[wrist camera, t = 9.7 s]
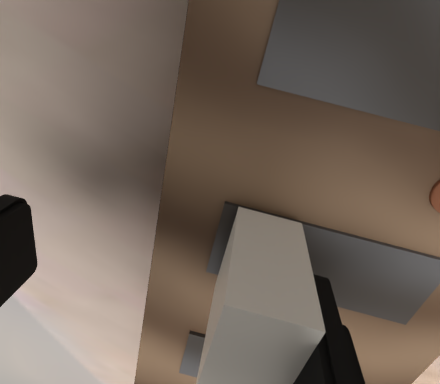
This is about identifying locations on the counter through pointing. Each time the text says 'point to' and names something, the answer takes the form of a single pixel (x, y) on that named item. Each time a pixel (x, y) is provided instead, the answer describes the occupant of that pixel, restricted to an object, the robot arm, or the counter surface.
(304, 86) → the switch board
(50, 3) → the counter surface
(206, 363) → the knob middle
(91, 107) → the counter surface
